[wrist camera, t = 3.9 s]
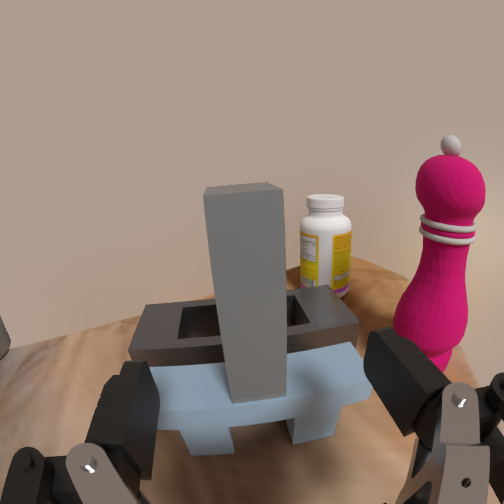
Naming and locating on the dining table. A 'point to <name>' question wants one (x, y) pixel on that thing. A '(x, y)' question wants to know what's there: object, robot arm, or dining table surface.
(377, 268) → the dining table surface
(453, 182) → the pepper mill
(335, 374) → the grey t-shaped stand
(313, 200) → the supplement bottle
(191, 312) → the dark grey rectangular block
